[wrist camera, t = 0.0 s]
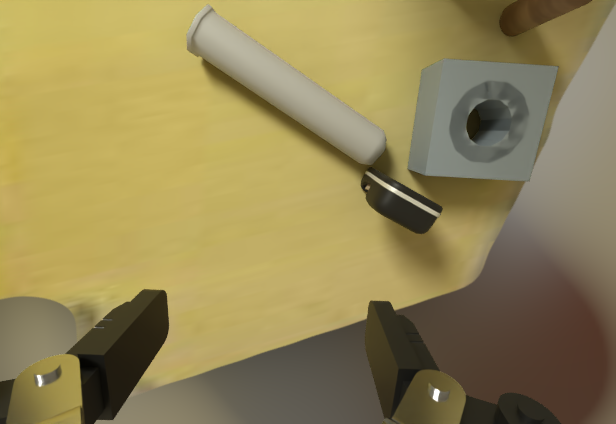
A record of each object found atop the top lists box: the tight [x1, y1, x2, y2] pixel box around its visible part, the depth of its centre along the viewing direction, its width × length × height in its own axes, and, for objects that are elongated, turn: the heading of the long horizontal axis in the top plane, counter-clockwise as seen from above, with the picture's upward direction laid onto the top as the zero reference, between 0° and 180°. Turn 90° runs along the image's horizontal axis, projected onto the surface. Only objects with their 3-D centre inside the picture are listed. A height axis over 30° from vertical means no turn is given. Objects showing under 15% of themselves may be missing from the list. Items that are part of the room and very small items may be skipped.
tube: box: [187, 4, 386, 165], centre depth 35 cm, size 5×5×25 cm
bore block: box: [408, 59, 559, 181], centre depth 35 cm, size 12×12×6 cm
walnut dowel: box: [500, 0, 592, 36], centre depth 31 cm, size 3×3×9 cm
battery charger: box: [361, 167, 442, 234], centre depth 35 cm, size 7×4×11 cm, turn 61°
